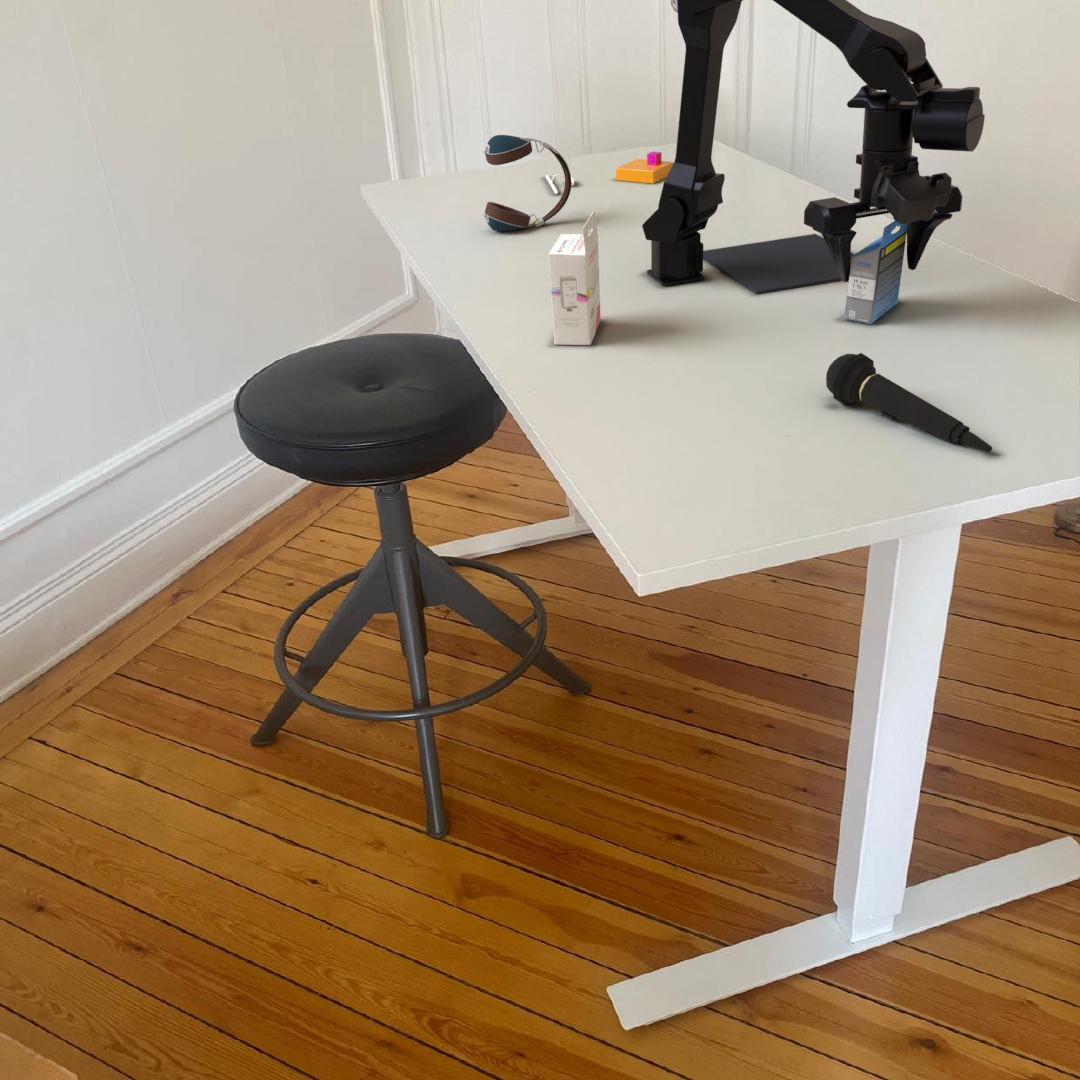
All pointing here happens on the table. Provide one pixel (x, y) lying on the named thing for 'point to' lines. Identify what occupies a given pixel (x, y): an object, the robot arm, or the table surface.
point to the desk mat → (777, 263)
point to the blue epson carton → (876, 276)
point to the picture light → (554, 185)
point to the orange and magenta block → (644, 169)
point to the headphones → (511, 150)
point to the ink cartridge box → (575, 286)
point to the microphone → (893, 400)
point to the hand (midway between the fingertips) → (878, 275)
